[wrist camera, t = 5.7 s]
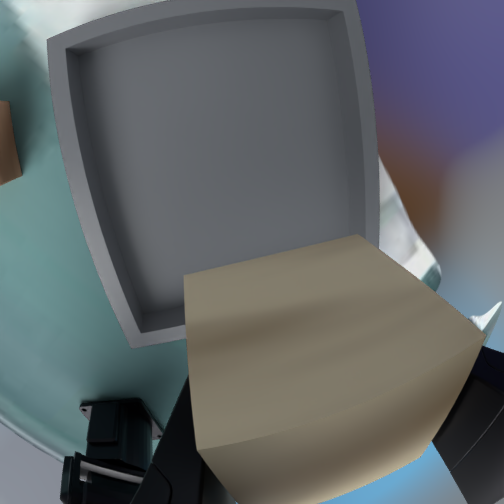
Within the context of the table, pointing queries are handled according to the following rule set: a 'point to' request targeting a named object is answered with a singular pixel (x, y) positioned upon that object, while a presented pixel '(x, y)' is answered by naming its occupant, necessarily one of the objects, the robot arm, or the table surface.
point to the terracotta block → (7, 147)
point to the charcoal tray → (212, 142)
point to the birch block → (319, 369)
